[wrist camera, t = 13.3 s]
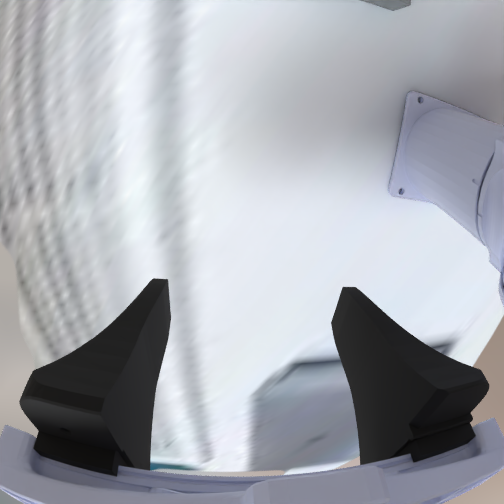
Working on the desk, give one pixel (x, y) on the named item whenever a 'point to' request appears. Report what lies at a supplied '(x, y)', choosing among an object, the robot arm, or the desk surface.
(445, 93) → the desk surface
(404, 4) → the tray
